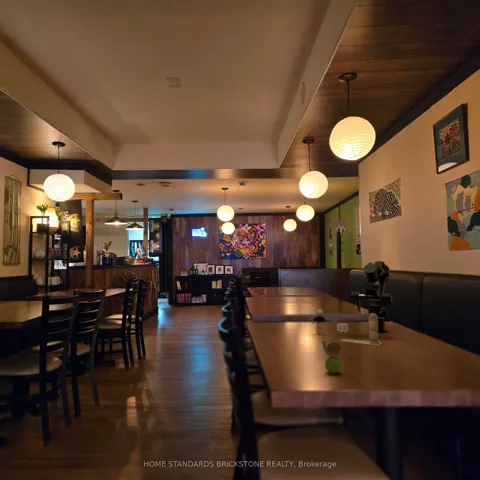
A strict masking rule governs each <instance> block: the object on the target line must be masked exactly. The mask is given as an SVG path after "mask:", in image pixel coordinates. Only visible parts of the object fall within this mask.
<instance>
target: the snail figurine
mask: <svg viewBox="0 0 480 480" xmlns="http://www.w3.org/2000/svg"><path fill="white" fill-rule="evenodd" d="M321 340H322V341H321V343H322V346H323V351H324V353H325V354H326V356H328V357H327V358H326V360H325V362H324V367H325V369H326V370H327V372H328V373H330V374H332V375H333V374H334V375H335V374H339V372H341V370H342V367H343V362H342V360H341V359H340V358H339V357H340V355H341V354H342V353H341V350H342V348H341V347H342V346H341V343H339V342H338V341H335V340H334V341H329V343H328V344H327V340H326V339H325V337H324V335H321Z"/></svg>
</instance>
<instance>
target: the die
mask: <svg viewBox="0 0 480 480" xmlns="http://www.w3.org/2000/svg"><path fill="white" fill-rule="evenodd" d="M336 331H339V332H338V333H342V332H344V333H349V324H348V323H344V322H343V323H337V324H336Z"/></svg>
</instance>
